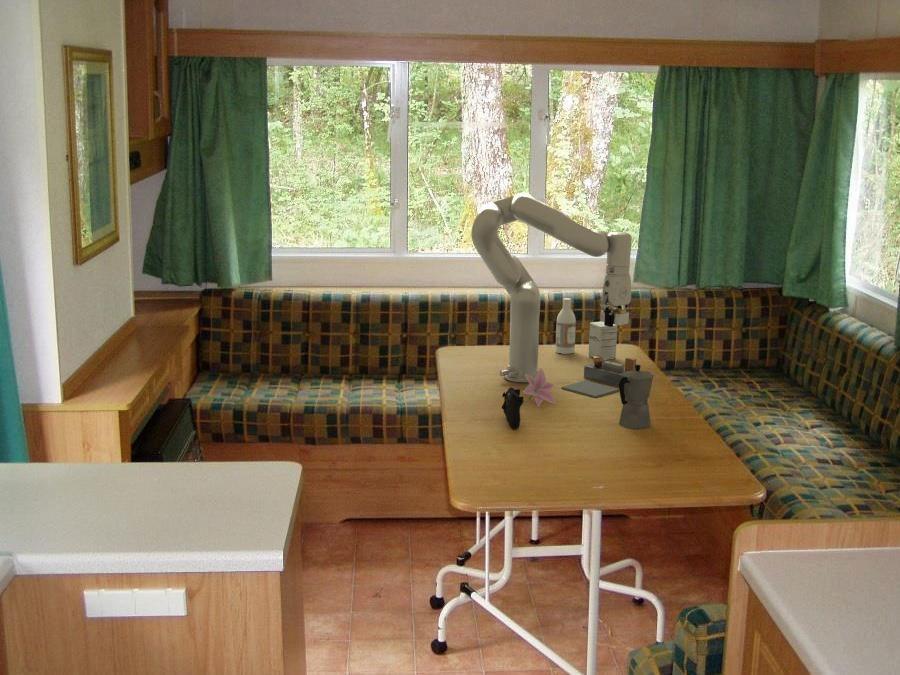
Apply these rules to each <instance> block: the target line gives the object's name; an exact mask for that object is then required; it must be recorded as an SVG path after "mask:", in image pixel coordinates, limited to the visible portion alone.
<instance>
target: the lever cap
mask: <svg viewBox="0 0 900 675" xmlns="http://www.w3.org/2000/svg"><path fill="white" fill-rule="evenodd" d="M608 308H609V309H610V307H608ZM612 315H614V318H613V324H615V325H617V326H622V325H627V324H629V322H630V321H629V320H630V312H627V310H624V309H619V308H617V307H614V310H613V314H612ZM599 316H600V318H599V322H604V321H605V314H604V311H603V309H601V310H600V313H599Z"/></svg>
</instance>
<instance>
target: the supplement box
mask: <svg viewBox="0 0 900 675" xmlns="http://www.w3.org/2000/svg"><path fill="white" fill-rule="evenodd" d="M617 336H618V325H615V324H613V327H609V326H605V325H604V322H602V321H593V322H590V323H589V336H588V337H589V338H588V339H589V340H588V357H590V358H592V357H593V358H592V359H594V356H602V357H603V360H602V361H608V360H607V359H612V360H616V359H617V342H618V341H617V338H618V337H617ZM614 358H615V359H614ZM605 359H606V360H605Z"/></svg>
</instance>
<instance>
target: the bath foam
mask: <svg viewBox="0 0 900 675" xmlns="http://www.w3.org/2000/svg"><path fill="white" fill-rule="evenodd" d="M576 325H577V321H576V315H575V313H574V311H573V310H572V298H570V297H564V298H562V308H561V310H560V312H559V313H558V314H557V317H556V330H555V352H556V353H557V354H559V353H561V354H560V355H572V354H574V353H575V349H576V348H575V347H576V330H577V329H576V327H577V326H576ZM571 353H572V354H571Z"/></svg>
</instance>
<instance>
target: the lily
mask: <svg viewBox="0 0 900 675" xmlns="http://www.w3.org/2000/svg"><path fill="white" fill-rule="evenodd" d="M537 372H538V373H537V375H536V377H535V378H533V377H532V376H530V375H527V374H525V376H526V378H527V380H528V382H527V383H528V385H527V386H526V387H525V388H524V390H522V391H523V393H524V394H526V395H530V397H529V398H528V400H531V398H532V396H534V399H535V403H536V406H537V408H539V407H540V406H541V404H542V402H543V400H544V401H547V402H550V403H551V404H553V405H556V402H557V401H556V400H555V397H554V395H553V393H552V392H551V390H552V389H553V388H554V387H555V385H554V384H553V383H550V382H546V379H547V378H546V375H545V373H544V369H543V368H539V370H538V371H537Z"/></svg>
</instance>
